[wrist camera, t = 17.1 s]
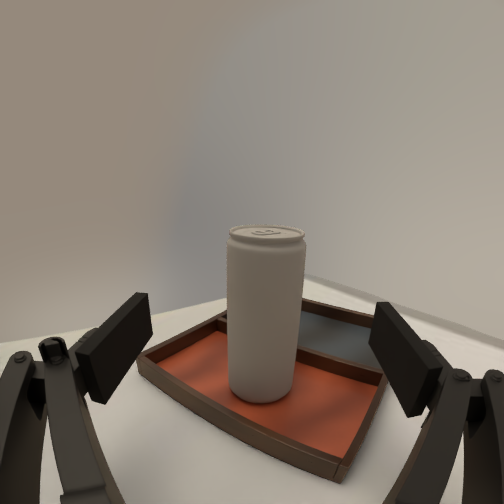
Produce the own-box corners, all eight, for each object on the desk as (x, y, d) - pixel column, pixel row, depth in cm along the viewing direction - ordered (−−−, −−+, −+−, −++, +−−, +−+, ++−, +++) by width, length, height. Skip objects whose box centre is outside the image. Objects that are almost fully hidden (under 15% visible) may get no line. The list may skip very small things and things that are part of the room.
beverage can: (304, 391, 20) (323, 234, 17) (251, 416, 17) (257, 242, 14) (266, 362, 24) (273, 222, 21) (217, 380, 21) (212, 227, 18)
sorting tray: (138, 372, 21) (134, 355, 21) (266, 301, 37) (266, 288, 37) (340, 484, 11) (348, 468, 11) (402, 337, 27) (406, 322, 27)
